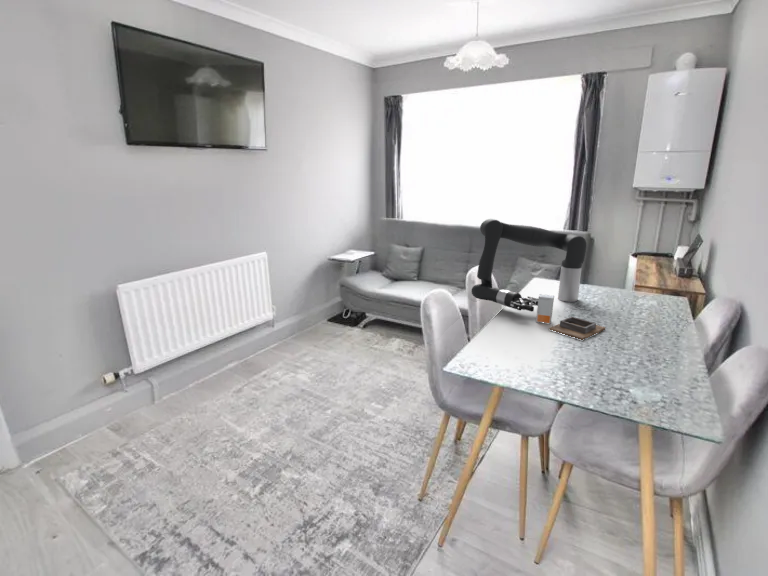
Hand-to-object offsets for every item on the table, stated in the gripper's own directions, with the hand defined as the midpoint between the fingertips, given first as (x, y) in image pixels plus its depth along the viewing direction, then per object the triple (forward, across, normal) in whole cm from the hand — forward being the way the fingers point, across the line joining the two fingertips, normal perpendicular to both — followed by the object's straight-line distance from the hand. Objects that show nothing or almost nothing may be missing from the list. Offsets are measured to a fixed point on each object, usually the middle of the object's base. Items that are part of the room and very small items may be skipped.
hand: (539, 307), depth 173 cm
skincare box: (+3, 0, +6) cm, 7 cm away
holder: (+17, +2, +6) cm, 18 cm away
